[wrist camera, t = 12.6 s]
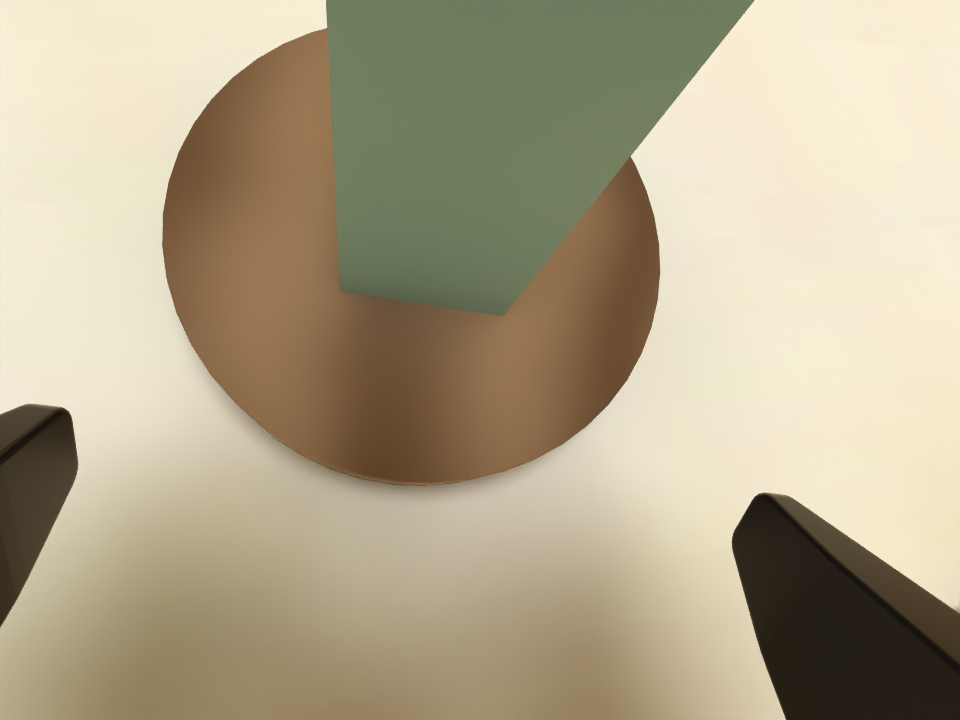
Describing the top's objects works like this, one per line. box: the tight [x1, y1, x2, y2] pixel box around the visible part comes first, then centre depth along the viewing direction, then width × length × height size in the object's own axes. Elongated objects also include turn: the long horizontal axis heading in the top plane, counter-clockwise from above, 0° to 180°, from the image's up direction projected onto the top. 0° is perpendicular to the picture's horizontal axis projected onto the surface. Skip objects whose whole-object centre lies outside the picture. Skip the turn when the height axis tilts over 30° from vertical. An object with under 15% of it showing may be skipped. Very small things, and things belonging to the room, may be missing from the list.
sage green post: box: [326, 0, 754, 316], centre depth 11 cm, size 4×4×12 cm
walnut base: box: [162, 28, 660, 486], centre depth 18 cm, size 14×14×2 cm
